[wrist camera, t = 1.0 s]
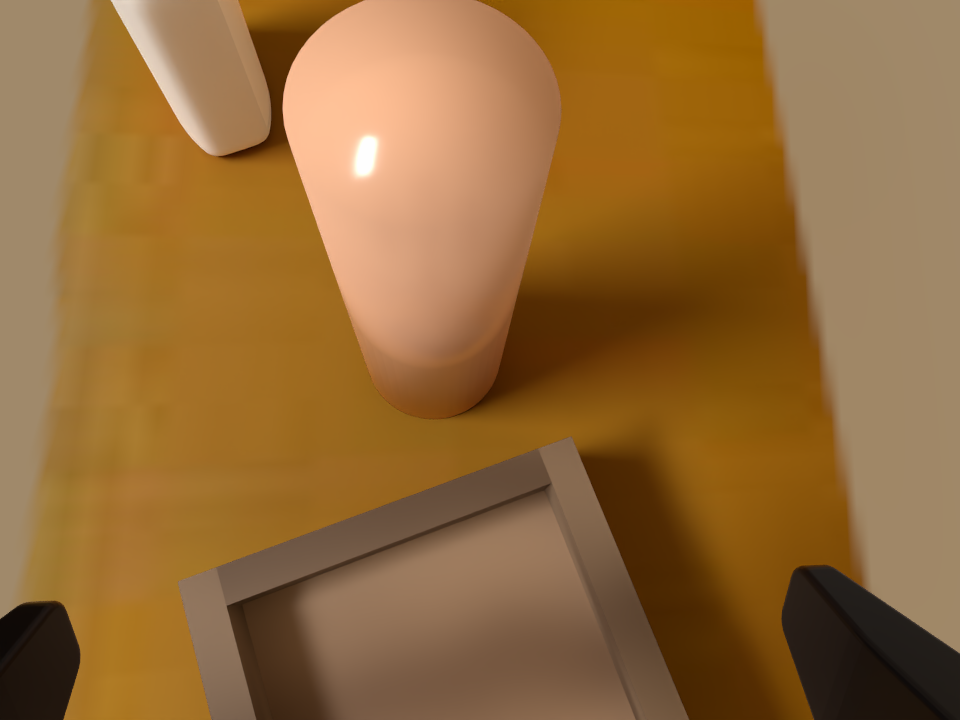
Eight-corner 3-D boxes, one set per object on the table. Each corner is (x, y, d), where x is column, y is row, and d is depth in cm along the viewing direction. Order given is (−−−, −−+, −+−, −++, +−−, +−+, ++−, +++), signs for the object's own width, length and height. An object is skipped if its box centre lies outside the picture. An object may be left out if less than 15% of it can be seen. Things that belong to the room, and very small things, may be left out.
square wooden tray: (705, 824, 20) (749, 863, 17) (322, 1004, 18) (300, 1080, 16) (555, 455, 23) (571, 436, 20) (213, 582, 21) (177, 581, 19)
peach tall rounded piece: (520, 392, 24) (605, 178, 11) (391, 438, 23) (330, 263, 11) (473, 275, 25) (502, -37, 12) (349, 315, 24) (249, 29, 12)
